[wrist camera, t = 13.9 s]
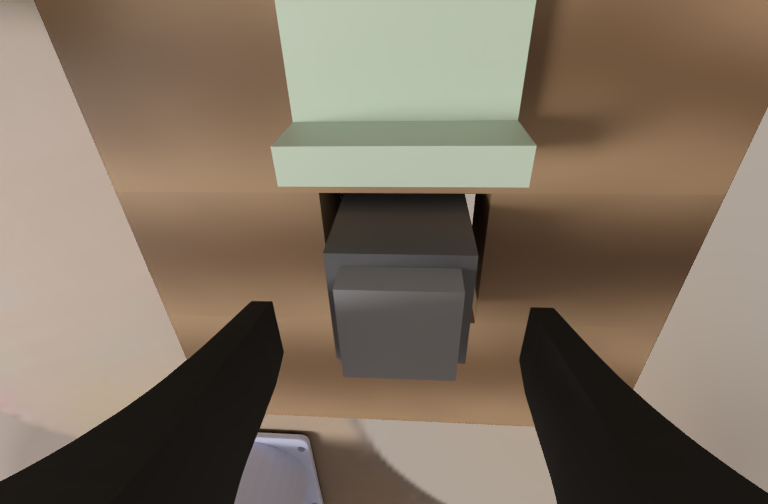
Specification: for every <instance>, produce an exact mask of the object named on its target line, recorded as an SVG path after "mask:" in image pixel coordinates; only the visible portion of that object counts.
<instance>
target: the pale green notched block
mask: <svg viewBox="0 0 768 504" xmlns="http://www.w3.org/2000/svg"><path fill="white" fill-rule="evenodd" d="M535 5H536V0H275V6H276V13H277V20H278V27H279V33H280V40H281V47H282V53H283V60H284V67H285V73H286V80H287V87H288V94H289V100H290V107H291V114H292V120H293V122H292V123H291V125H290V126H289V127H288V128H287V129H286V130H285V131H284V132H283V133H282V134H281V136H280V137H279V138H278V139H277V140H276V141H275V142H274V143H273V144H272V145H271V152H272V157H273V163H274V168H275V174H276V179H277V185H278V187H510V188H529V185H530V179H531V174H532V168H533V163H534V157H535V152H536V146H537V145H536V144H535V143H534V141H533V140H532V139H531V137H530V136H529V135H528V133H527V132H526V131H525V129H524V128H523V126H522V125H521V124H520V122H519V121H518V117H519V111H520V104H521V97H522V91H523V84H524V78H525V71H526V64H527V58H528V51H529V45H530V38H531V32H532V25H533V18H534V12H535Z"/></svg>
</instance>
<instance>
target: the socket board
mask: <svg viewBox="0 0 768 504" xmlns="http://www.w3.org/2000/svg"><path fill="white" fill-rule="evenodd" d="M34 2H35V4H36V6H37V9H38V11H39V13H40V16H41V18H42V21H43V23H44V25H45V28H46V30H47V32H48V35H49V37H50V39H51V42H52V44H53V46H54V49H55V51H56V53H57V56H58V58H59V60H60V63H61V65H62V67H63V70H64V72H65V75H66V77H67V79H68V82H69V84H70V86H71V89H72V91H73V93H74V96H75V98H76V100H77V103H78V105H79V107H80V110H81V112H82V114H83V117H84V119H85V121H86V124H87V126H88V128H89V131H90V133H91V136H92V138H93V140H94V143H95V145H96V147H97V150H98V152H99V154H100V157H101V159H102V161H103V164H104V166H105V168H106V171H107V173H108V175H109V178H110V180H111V182H112V185H113V187H114V189H115V192H116V194H117V197H118V199H119V201H120V204H121V206H122V208H123V211H124V213H125V215H126V218H127V220H128V222H129V225H130V227H131V229H132V232H133V234H134V236H135V239H136V241H137V243H138V246H139V248H140V250H141V253H142V255H143V258H144V260H145V262H146V265H147V267H148V269H149V272H150V274H151V276H152V279H153V281H154V283H155V286H156V288H157V290H158V293H159V295H160V297H161V300H162V302H163V304H164V307H165V309H166V311H167V314H168V316H169V319H170V321H171V323H172V326H173V328H174V330H175V333H176V335H177V337H178V340H179V342H180V344H181V347H182V349H183V351H184V354H185V356H186V358H187V359H189V358H190V357H191V356H192V355H193V354H195V353H196V352H197V351H198V350H199V349H200V348H201V347H202V346H203V345H205V344H206V343H207V342H208V341H209V340H210V339H211V338H212V337H213V336H215V335H216V334H217V333H218V332H219V331H220V330H221V329H222V328H223V327H224V326H225V325H226V324H227V323H228V322H229V321H231V320H232V319H233V318H234V317H235V316H236V315H237V314H238V313H239V312H240V311H241V310H242V309H243V308H244V307H245V306H247V305H248V304H249V303H250V302H251V301H272V302H273V306H274V311H275V315H276V319H277V324H278V328H279V332H280V337H281V341H282V346H283V350H284V354H283V359H282V363H281V367H280V371H279V375H278V379H277V383H276V386H275V389H274V392H273V395H272V397H271V400H270V403H269V405H268V408H267V410H266V413H265V414H273V415H295V416H317V417H338V418H360V419H382V420H403V421H426V422H447V423H469V424H491V425H513V426H534V427H535V425H534V422H533V419H532V415H531V412H530V409H529V406H528V402H527V399H526V395H525V391H524V386H523V380H522V375H521V369H520V363H519V357H520V353H521V348H522V344H523V339H524V335H525V330H526V326H527V321H528V317H529V312H530V308H531V307H541V308H554V309H555V310H556V311H557V312H558V313H559V314H560V315H561V316H562V317H563V318H564V319H565V321H566V322H567V323H568V324H569V325H570V326H571V327H572V328H573V329H574V330H575V331H576V333H577V334H578V335H579V336H580V337H581V338H582V339H583V340H584V341H585V342H586V343H587V344H588V345H589V347H590V348H591V349H592V350H593V351H594V352H595V353H596V354H597V355H598V356H599V357H600V358H601V359H602V360H603V361H604V362H605V363H606V364H607V365H608V366H609V367H610V368H611V369H612V370H613V371H614V372H615V373H616V374H617V375H618V376H619V377H620V378H621V379H622V380H623V381H624V382H625V383H626V384H627V385H629V386H630V387H631V388H632V389H633V388H634V386H635V384H636V382H637V380H638V378H639V376H640V374H641V372H642V369H643V367H644V365H645V363H646V361H647V358H648V357H649V355H650V353H651V351H652V348H653V346H654V344H655V342H656V340H657V338H658V336H659V334H660V332H661V330H662V327H663V325H664V323H665V321H666V319H667V317H668V315H669V313H670V311H671V309H672V306H673V304H674V302H675V300H676V298H677V296H678V294H679V292H680V290H681V288H682V285H683V283H684V281H685V279H686V277H687V275H688V273H689V271H690V269H691V266H692V265H693V263H694V260H695V258H696V256H697V254H698V252H699V250H700V248H701V246H702V244H703V241H704V239H705V237H706V235H707V233H708V231H709V229H710V227H711V225H712V223H713V221H714V218H715V216H716V214H717V212H718V210H719V208H720V206H721V204H722V202H723V199H724V198H725V195H726V193H727V191H728V189H729V187H730V185H731V183H732V181H733V179H734V177H735V174H736V172H737V170H738V168H739V166H740V164H741V162H742V160H743V158H744V156H745V153H746V151H747V149H748V147H749V145H750V143H751V141H752V138H753V137H754V134H755V133H756V130H757V128H758V126H759V124H760V122H761V119H762V118H763V116H764V114H765V112H766V109H767V107H768V0H536V5H535V12H534V18H533V25H532V32H531V38H530V45H529V51H528V58H527V64H526V71H525V78H524V84H523V91H522V97H521V104H520V111H519V117H518V121H519V122H520V124H521V125H522V126H523V128H524V129H525V131H526V132H527V133H528V135H529V136H530V137H531V139H532V140H533V141H534V143H535V144H536V145H537V146H536V152H535V157H534V163H533V168H532V174H531V179H530V185H529V188H510V187H278V185H277V179H276V174H275V168H274V163H273V157H272V152H271V145H272V144H273V143H274V142H275V141H276V140H277V139H278V138H279V137H280V136H281V134H282V133H283V132H284V131H285V130H286V129H287V128H288V127H289V126H290V125H291V123H292V122H293V120H292V114H291V107H290V100H289V94H288V87H287V80H286V73H285V67H284V60H283V53H282V47H281V40H280V33H279V27H278V20H277V13H276V6H275V0H34ZM338 193H461V194H465V193H466V194H468V193H469V194H471V193H472V194H476V196H475V205H474V215H473V224H472V229H473V233H474V238H475V242H476V247H477V251H478V264H477V272H476V281H475V289H474V297H473V305H472V313H471V321H470V330H469V338H468V346H467V354H466V362H465V364H457V373H456V381H434V380H408V379H383V378H357V377H343V370H342V362H341V359H337V358H336V351H335V343H334V335H333V328H332V320H331V312H330V305H329V297H328V289H327V282H326V274H325V266H324V259H323V251H324V248H325V246H326V243H327V240H328V237H329V234H330V231H331V229H332V226H333V223H334V220H335V217H336V214H337V212H338V209H339V196H338Z"/></svg>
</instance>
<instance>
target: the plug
mask: <svg viewBox="0 0 768 504" xmlns="http://www.w3.org/2000/svg"><path fill="white" fill-rule="evenodd" d="M323 259H324V266H325V274H326V282H327V289H328V297H329V305H330V312H331V320H332V328H333V335H334V343H335V351H336V358H337V359H341V362H342V370H343V377H357V378H383V379H408V380H434V381H456V373H457V364H465V362H466V354H467V346H468V338H469V330H470V321H471V313H472V305H473V297H474V289H475V281H476V272H477V264H478V251H477V247H476V242H475V238H474V233H473V229H472V225H471V220H470V216H469V211H468V207H467V203H466V198H465V194H461V193H344V195H343V197H342V200H341V203H340V206H339V209H338V212H337V214H336V217H335V220H334V223H333V226H332V229H331V231H330V234H329V237H328V240H327V243H326V246H325V248H324V251H323Z"/></svg>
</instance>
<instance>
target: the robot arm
mask: <svg viewBox="0 0 768 504" xmlns="http://www.w3.org/2000/svg"><path fill="white" fill-rule="evenodd" d="M283 354H284V350H283V346H282V341H281V337H280V332H279V328H278V324H277V319H276V315H275V311H274V306H273V302H272V301H251V302H250V303H249V304H248V305H247V306H245V307H244V308H243V309H242V310H241V311H240V312H239V313H238V314H237V315H236V316H235V317H234V318H233V319H232V320H231V321H229V322H228V323H227V324H226V325H225V326H224V327H223V328H222V329H221V330H220V331H219V332H218V333H217V334H216V335H215V336H213V337H212V338H211V339H210V340H209V341H208V342H207V343H206V344H205V345H203V346H202V347H201V348H200V349H199V350H198V351H197V352H196V353H195V354H193V355H192V356H191V357H190V358H189V359H187V360H186V361H185V362H184V363H183V364H181V365H180V366H179V367H178V368H177V369H175V370H174V371H173V372H172V373H171V374H169V375H168V376H167V377H166V378H165V379H163V380H162V381H161V382H160V383H158V384H157V385H156V386H154V387H153V388H152V389H150V390H149V391H148V392H146V393H145V394H144V395H142V396H141V397H139V398H138V399H137V400H135V401H134V402H132V403H131V404H130V405H128V406H127V407H125V408H124V409H123V410H121V411H120V412H118V413H117V414H115V415H113V416H112V417H110V418H109V419H107V420H106V421H104V422H103V423H101V424H99V425H98V426H96V427H95V428H93V429H92V430H90V431H89V432H87V433H85V434H84V435H82V436H81V437H79V438H78V439H76V440H74V441H73V442H71V443H69V444H67V445H66V446H64V447H62V448H61V449H59V450H57V451H55V452H54V453H52V454H50V455H49V456H47V457H45V458H43V459H41V460H40V461H38V462H36V463H34V464H32V465H30V466H29V467H27V468H25V469H23V470H21V471H19V472H18V473H16V474H14V475H12V476H10V477H8V478H6V479H4V480H2V481H0V504H323V499H322V495H321V490H320V486H319V481H318V477H317V472H316V468H315V463H314V459H313V454H312V450H311V445H310V441H309V438H308V437H307V436H305V435H301V434H281V433H261V432H258V431H259V429H260V426H261V423H262V421H263V418H264V416H265V413H266V410H267V408H268V405H269V403H270V400H271V397H272V395H273V392H274V389H275V386H276V383H277V379H278V375H279V371H280V367H281V363H282V359H283ZM519 363H520V369H521V375H522V380H523V386H524V391H525V395H526V399H527V402H528V406H529V409H530V412H531V415H532V419H533V422H534V425H535V428H536V431H537V435H538V438H539V441H540V444H541V447H542V451H543V454H544V457H545V460H546V463H547V467H548V470H549V473H550V476H551V480H552V484H553V487H554V491H555V495H556V500H557V504H768V493H767V492H765V491H764V490H762V489H761V488H759V487H758V486H756V485H755V484H753V483H752V482H751V481H749V480H748V479H746V478H745V477H743V476H742V475H740V474H739V473H737V472H736V471H735V470H733V469H732V468H730V467H729V466H727V465H726V464H725V463H723V462H722V461H720V460H719V459H718V458H717V457H715V456H714V455H712V454H711V453H710V452H708V451H707V450H706V449H704V448H703V447H701V446H700V445H699V444H698V443H696V442H695V441H694V440H692V439H691V438H690V437H688V436H687V435H685V433H683V432H682V431H681V430H680V429H679V428H677V427H676V426H675V425H674V424H672V423H671V422H670V421H668V420H667V419H666V418H665V417H664V416H663V415H661V414H660V413H659V412H658V411H656V410H655V409H654V408H653V407H652V406H651V405H649V404H648V403H647V402H646V401H645V400H643V398H642V397H641V396H639V395H638V394H637V393H636V392H635V391H634V390H633V389H632V388H631V387H630V386H629V385H627V384H626V383H625V382H624V381H623V380H622V379H621V378H620V377H619V376H618V375H617V374H616V373H615V372H614V371H613V370H612V369H611V368H610V367H609V366H608V365H607V364H606V363H605V362H604V361H603V360H602V359H601V358H600V357H599V356H598V355H597V354H596V353H595V352H594V351H593V350H592V349H591V348H590V347H589V345H588V344H587V343H586V342H585V341H584V340H583V339H582V338H581V337H580V336H579V335H578V334H577V333H576V331H575V330H574V329H573V328H572V327H571V326H570V325H569V324H568V323H567V322H566V321H565V319H564V318H563V317H562V316H561V315H560V314H559V313H558V312H557V311H556V310H555V309H554V308H541V307H531V308H530V312H529V317H528V321H527V326H526V330H525V335H524V339H523V344H522V348H521V353H520V357H519Z"/></svg>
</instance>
